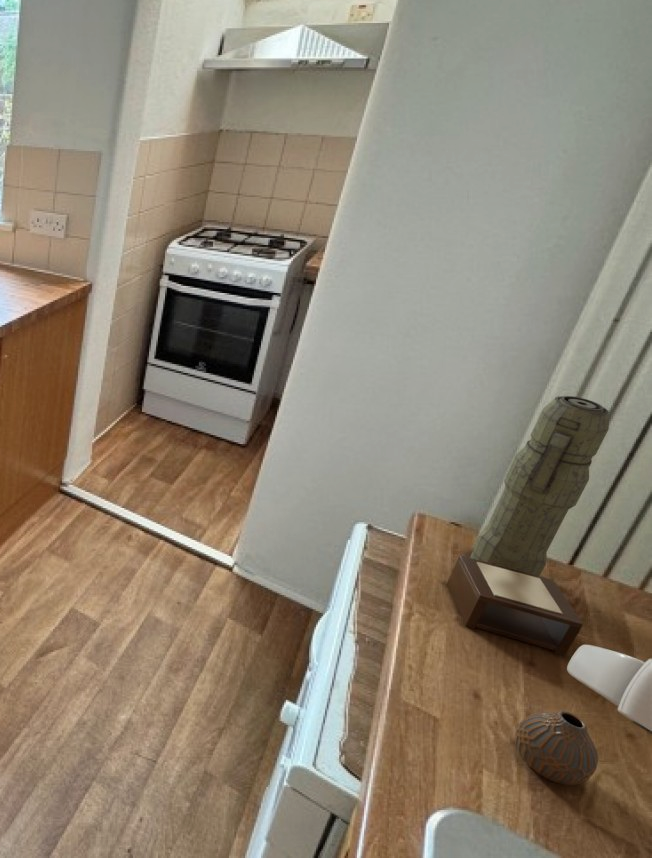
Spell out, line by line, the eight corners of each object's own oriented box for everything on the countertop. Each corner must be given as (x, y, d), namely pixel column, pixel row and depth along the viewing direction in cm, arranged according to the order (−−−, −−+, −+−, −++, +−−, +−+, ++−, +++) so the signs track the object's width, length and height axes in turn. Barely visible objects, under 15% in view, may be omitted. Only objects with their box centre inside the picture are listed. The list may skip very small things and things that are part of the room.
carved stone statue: (461, 573, 108) (539, 403, 96) (473, 544, 116) (547, 382, 103) (529, 603, 102) (622, 426, 89) (537, 570, 109) (624, 402, 97)
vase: (509, 728, 82) (535, 683, 79) (582, 768, 77) (613, 721, 74) (504, 763, 77) (532, 717, 74) (582, 808, 73) (614, 760, 69)
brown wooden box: (535, 611, 101) (553, 578, 98) (563, 658, 92) (584, 623, 90) (445, 585, 106) (460, 553, 103) (464, 628, 97) (480, 594, 95)
